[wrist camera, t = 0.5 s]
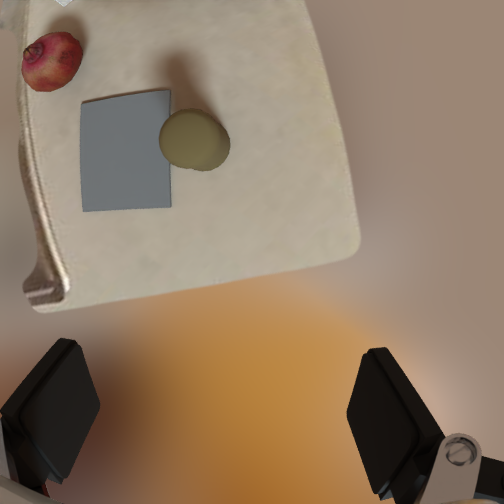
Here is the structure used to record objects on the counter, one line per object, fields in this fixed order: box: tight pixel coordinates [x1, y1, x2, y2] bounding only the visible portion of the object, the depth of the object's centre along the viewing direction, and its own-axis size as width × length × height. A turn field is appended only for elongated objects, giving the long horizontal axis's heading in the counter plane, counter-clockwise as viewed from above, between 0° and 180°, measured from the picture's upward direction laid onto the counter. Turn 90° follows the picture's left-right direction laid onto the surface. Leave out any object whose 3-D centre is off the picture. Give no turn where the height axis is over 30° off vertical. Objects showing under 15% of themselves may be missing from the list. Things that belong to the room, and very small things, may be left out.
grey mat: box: [80, 90, 171, 212], centre depth 32 cm, size 14×12×1 cm
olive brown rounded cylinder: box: [159, 108, 230, 171], centre depth 27 cm, size 6×6×11 cm
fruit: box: [21, 32, 83, 92], centre depth 24 cm, size 8×8×10 cm
